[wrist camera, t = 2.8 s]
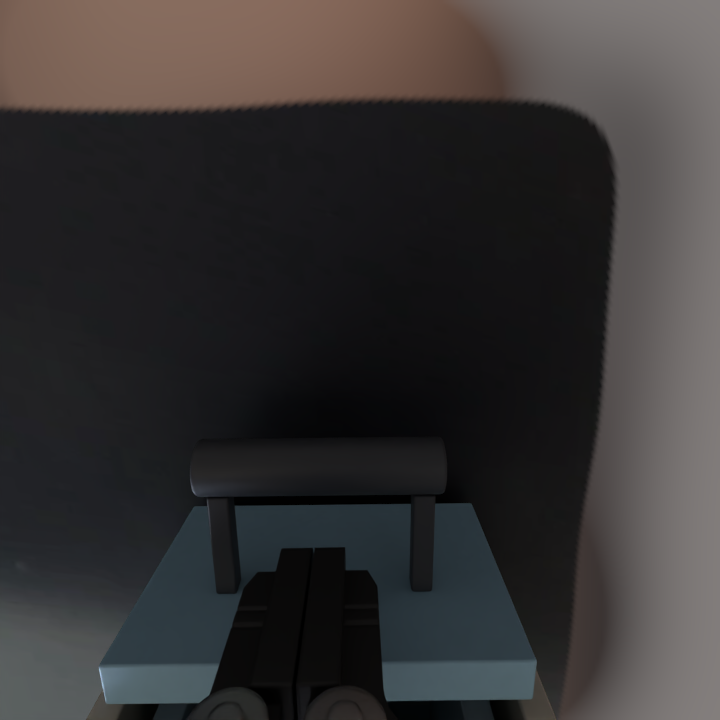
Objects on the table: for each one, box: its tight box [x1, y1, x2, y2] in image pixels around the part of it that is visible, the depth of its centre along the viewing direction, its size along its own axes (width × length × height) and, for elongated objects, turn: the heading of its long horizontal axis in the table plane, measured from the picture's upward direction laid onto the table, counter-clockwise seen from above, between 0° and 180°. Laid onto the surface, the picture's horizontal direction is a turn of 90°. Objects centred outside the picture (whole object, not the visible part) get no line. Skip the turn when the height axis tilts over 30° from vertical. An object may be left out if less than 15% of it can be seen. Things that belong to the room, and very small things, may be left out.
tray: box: [99, 436, 537, 720], centre depth 16 cm, size 18×10×7 cm, turn 1°
